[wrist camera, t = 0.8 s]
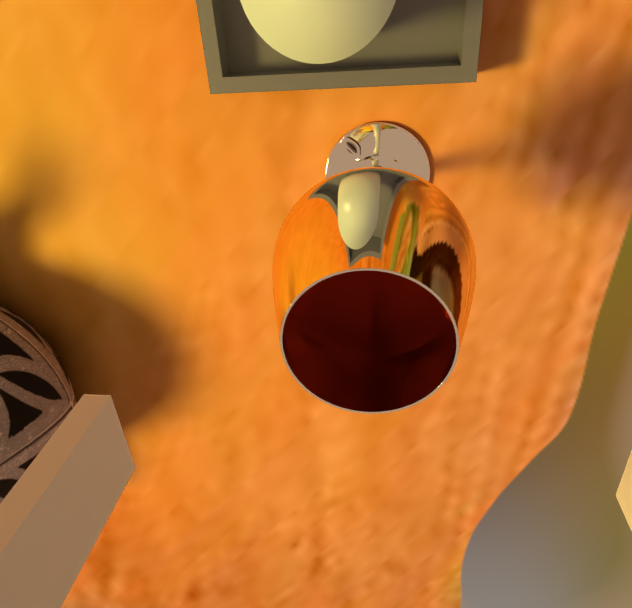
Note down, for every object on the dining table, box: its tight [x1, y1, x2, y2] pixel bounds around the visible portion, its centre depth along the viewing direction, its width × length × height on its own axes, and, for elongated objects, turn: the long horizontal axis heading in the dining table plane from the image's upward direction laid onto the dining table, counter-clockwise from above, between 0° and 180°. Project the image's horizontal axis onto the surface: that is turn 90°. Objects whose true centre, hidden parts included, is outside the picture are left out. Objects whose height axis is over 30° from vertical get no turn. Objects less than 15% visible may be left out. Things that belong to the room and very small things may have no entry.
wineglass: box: [272, 122, 476, 414], centre depth 24 cm, size 8×8×18 cm
